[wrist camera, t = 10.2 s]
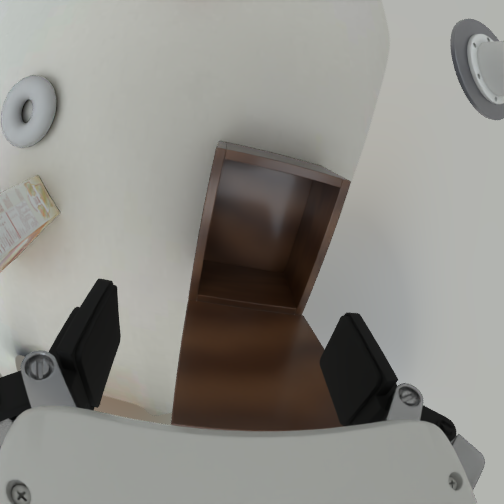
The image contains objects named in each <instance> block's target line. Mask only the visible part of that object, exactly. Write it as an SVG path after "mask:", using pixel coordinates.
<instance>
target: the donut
mask: <svg viewBox="0 0 504 504" xmlns="http://www.w3.org/2000/svg"><path fill="white" fill-rule="evenodd" d="M28 99H30V100H31V101H32V104H33V113H32V116H31V118H30V120H29V122H27V123H24V122H23V120H22V117H21V111H22V107H23V105H24V103H25V102H26V101H27V100H28ZM55 112H56V95H55V90H54V88H53V86H52V85H51V83H50V81H48V80H47V79H45V78H44V77H42V76H36V75H32V76H29V77H26V78H23V79H22V80H20V81H19V82H18V83H17V84H15V85H14V86H13V88H12V89H11V90H10V92H9V93H8V95H7V97H6V99H5V101H4V104H3V108H2V112H1V126H2V131H3V134H4V136H5V138H6V140H7V141H9V142H10V143H11V144H12V145H13V146H16V147H20V148H25V147H30V146H32V145H34V144H35V143H37V142H38V141H40V140H41V139H42V138H43V137H44V135H45V134H46V133H47V132H48V130H49V128H50V126H51V124H52V122H53V119H54V115H55Z"/></svg>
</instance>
